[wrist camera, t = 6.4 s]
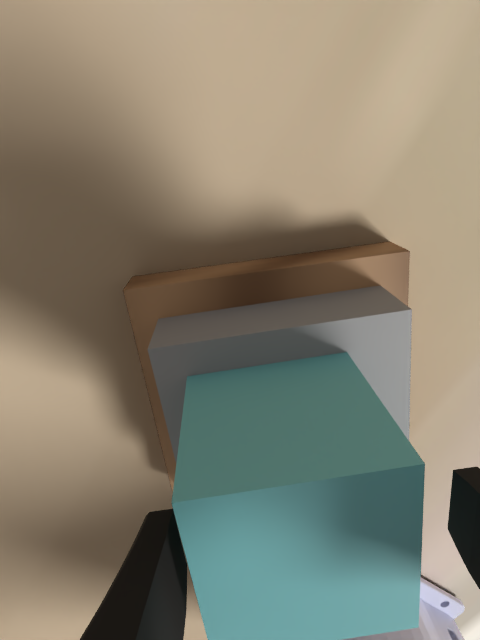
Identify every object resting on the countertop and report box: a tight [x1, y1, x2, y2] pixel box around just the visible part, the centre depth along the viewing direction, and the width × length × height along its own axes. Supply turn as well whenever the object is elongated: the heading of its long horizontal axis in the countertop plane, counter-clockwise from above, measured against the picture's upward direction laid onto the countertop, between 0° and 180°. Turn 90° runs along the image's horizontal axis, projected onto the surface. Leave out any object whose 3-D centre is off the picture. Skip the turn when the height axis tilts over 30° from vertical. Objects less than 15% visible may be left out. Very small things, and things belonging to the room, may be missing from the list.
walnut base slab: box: [123, 242, 410, 492], centre depth 17 cm, size 10×10×2 cm
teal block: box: [172, 352, 425, 640], centre depth 11 cm, size 5×5×5 cm
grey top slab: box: [148, 285, 412, 463], centre depth 15 cm, size 8×8×2 cm
